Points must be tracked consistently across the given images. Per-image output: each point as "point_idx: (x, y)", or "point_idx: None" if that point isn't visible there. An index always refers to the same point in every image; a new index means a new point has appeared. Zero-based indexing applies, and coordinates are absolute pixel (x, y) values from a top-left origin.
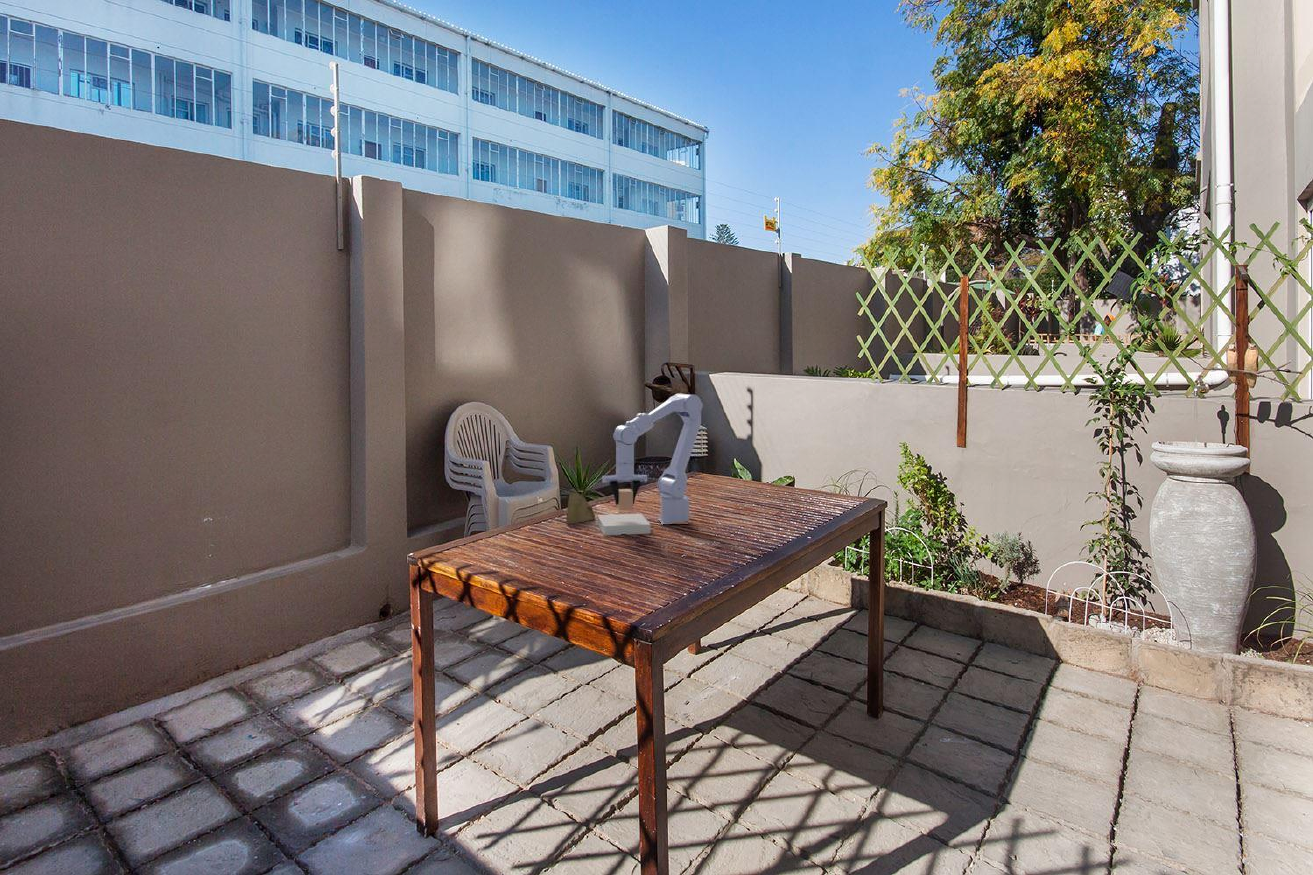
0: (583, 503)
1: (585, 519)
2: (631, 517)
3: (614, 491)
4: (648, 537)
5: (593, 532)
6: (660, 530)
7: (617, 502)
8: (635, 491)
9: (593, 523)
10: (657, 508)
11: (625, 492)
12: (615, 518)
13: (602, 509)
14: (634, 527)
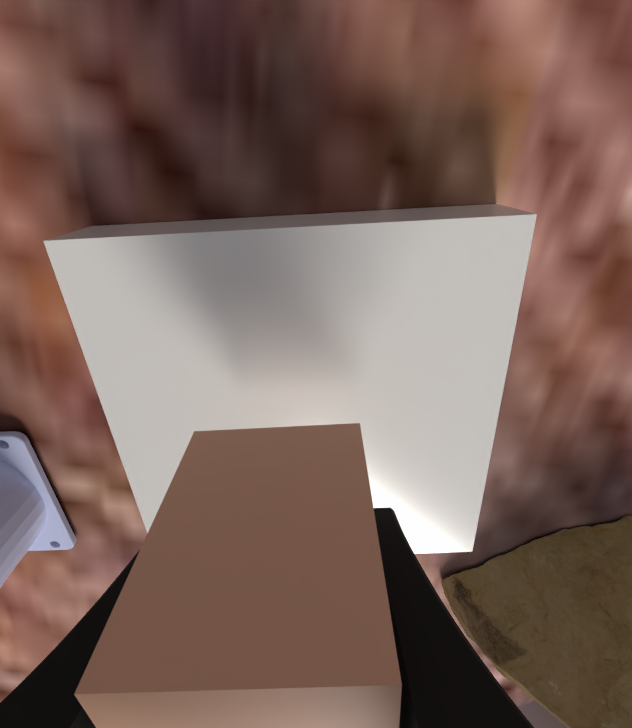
0: (570, 681)
1: (510, 563)
2: None
3: (508, 716)
4: (94, 76)
5: (545, 312)
6: (20, 314)
7: (384, 527)
8: (31, 710)
9: None
10: None
11: (254, 673)
12: None
13: None
14: (214, 226)
